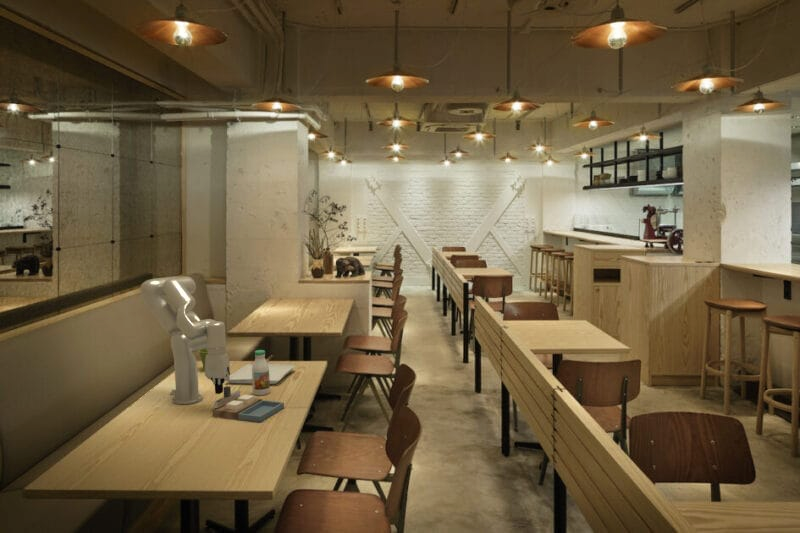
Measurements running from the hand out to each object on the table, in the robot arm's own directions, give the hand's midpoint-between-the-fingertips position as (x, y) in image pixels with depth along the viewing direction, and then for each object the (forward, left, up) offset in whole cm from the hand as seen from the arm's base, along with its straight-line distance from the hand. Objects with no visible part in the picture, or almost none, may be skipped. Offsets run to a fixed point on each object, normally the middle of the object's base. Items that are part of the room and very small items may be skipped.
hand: (219, 392), depth 254 cm
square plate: (-9, +46, -8) cm, 48 cm away
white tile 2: (+11, +4, -4) cm, 12 cm away
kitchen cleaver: (-26, +73, -8) cm, 78 cm away
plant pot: (-43, +50, -7) cm, 66 cm away
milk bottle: (+5, +24, -7) cm, 26 cm away
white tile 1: (+11, -4, -4) cm, 12 cm away
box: (+21, 0, -7) cm, 22 cm away
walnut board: (+9, 0, -7) cm, 11 cm away
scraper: (+4, 0, -4) cm, 5 cm away
